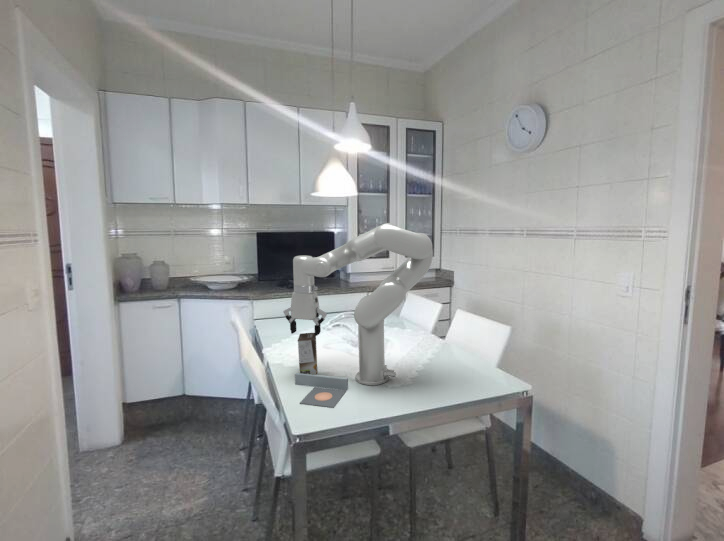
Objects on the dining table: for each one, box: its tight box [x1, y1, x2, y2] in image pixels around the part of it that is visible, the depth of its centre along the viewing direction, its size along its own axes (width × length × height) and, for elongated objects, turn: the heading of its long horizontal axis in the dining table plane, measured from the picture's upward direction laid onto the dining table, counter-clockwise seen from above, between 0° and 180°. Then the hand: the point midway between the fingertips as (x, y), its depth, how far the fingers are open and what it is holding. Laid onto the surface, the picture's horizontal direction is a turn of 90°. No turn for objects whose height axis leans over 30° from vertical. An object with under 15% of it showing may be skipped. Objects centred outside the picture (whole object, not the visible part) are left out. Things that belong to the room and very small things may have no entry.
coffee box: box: [297, 332, 318, 375], centre depth 147 cm, size 9×6×16 cm
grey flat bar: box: [294, 372, 349, 391], centre depth 139 cm, size 20×1×4 cm, turn 73°
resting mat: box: [299, 387, 347, 409], centre depth 131 cm, size 12×12×1 cm
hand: (305, 333), depth 146 cm, fingers open, 9 cm apart
